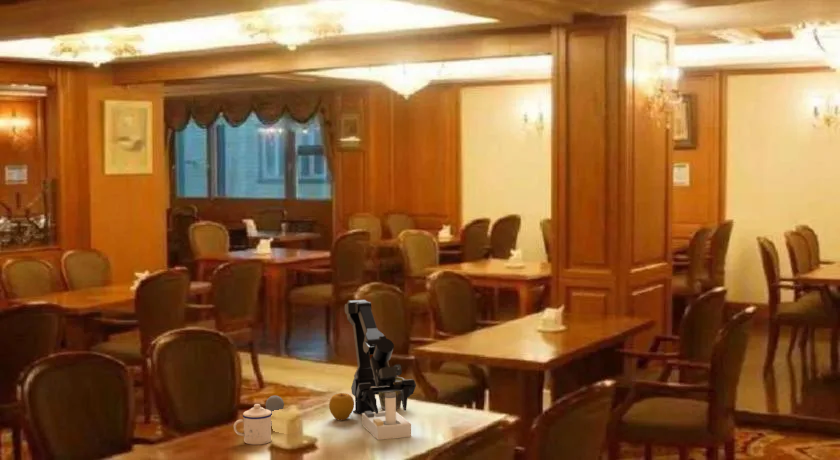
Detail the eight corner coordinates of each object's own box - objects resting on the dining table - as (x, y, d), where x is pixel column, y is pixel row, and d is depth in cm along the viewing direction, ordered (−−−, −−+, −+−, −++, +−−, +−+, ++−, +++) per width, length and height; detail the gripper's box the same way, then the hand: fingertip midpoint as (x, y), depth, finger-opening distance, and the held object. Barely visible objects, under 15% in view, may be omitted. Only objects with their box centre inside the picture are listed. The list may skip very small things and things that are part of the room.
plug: (383, 435, 351) (382, 393, 350) (391, 432, 353) (390, 391, 352) (390, 437, 348) (389, 394, 347) (398, 434, 351) (398, 393, 350)
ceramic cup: (373, 405, 390) (372, 377, 389) (400, 403, 393) (399, 375, 392) (382, 414, 378) (382, 385, 377) (410, 411, 381) (410, 382, 380)
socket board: (362, 425, 364) (362, 410, 363) (394, 422, 367) (394, 407, 366) (377, 439, 345) (377, 424, 345) (411, 436, 349) (411, 420, 348)
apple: (358, 420, 369) (357, 394, 368) (333, 423, 366) (333, 397, 365) (350, 415, 377) (349, 389, 376) (326, 417, 374) (325, 392, 373)
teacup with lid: (269, 436, 352) (268, 400, 351) (275, 443, 343) (274, 406, 342) (232, 439, 348) (230, 403, 347) (236, 447, 340) (235, 410, 339)
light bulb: (281, 428, 361) (280, 398, 360) (263, 427, 363) (262, 397, 362) (286, 423, 367) (286, 393, 366) (269, 422, 368) (268, 393, 368)
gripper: (357, 358, 350) (367, 400, 341) (413, 354, 356) (424, 395, 346) (351, 378, 358) (361, 419, 349) (407, 373, 364) (417, 414, 354)
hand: (391, 411), depth 349 cm, fingers open, 9 cm apart
